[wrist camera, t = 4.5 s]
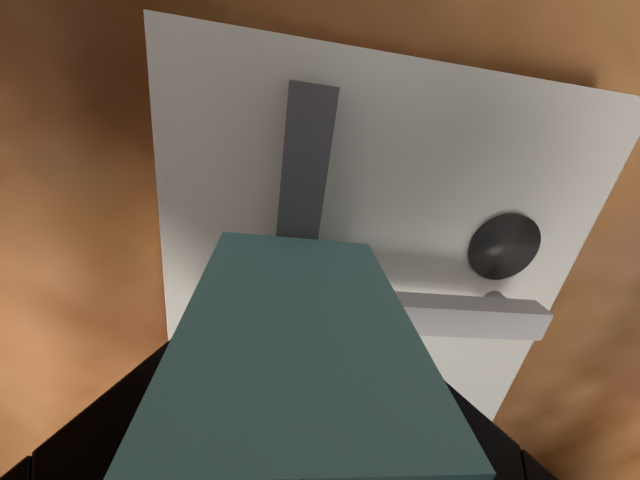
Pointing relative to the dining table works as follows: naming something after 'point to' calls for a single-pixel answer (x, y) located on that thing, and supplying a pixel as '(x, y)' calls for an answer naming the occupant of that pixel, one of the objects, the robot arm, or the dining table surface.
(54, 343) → the dining table surface
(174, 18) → the white base plate
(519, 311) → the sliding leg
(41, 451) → the robot arm
